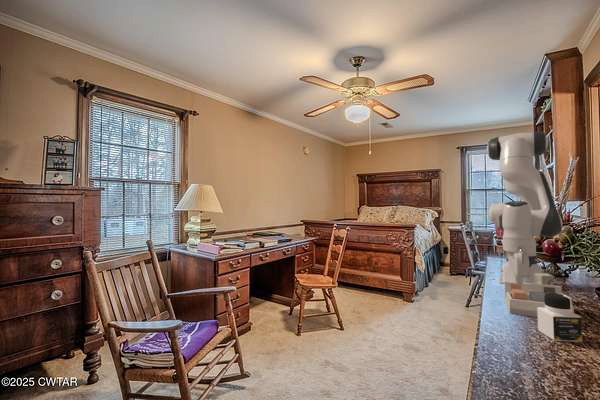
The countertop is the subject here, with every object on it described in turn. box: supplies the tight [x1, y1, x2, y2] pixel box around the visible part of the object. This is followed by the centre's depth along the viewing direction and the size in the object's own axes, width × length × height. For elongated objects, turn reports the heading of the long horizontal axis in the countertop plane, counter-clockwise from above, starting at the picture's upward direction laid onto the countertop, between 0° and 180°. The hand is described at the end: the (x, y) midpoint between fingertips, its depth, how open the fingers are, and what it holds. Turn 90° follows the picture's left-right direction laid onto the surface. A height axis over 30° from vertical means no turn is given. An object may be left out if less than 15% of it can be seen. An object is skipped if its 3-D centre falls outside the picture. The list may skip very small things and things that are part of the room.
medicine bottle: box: [537, 293, 583, 343], centre depth 86 cm, size 7×7×12 cm
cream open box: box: [503, 281, 575, 318], centre depth 106 cm, size 14×17×8 cm
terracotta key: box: [512, 289, 528, 301], centre depth 106 cm, size 5×4×2 cm
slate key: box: [529, 290, 545, 302], centre depth 104 cm, size 5×4×2 cm
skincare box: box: [534, 272, 555, 286], centre depth 118 cm, size 5×4×10 cm
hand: (519, 284), depth 106 cm, fingers closed
